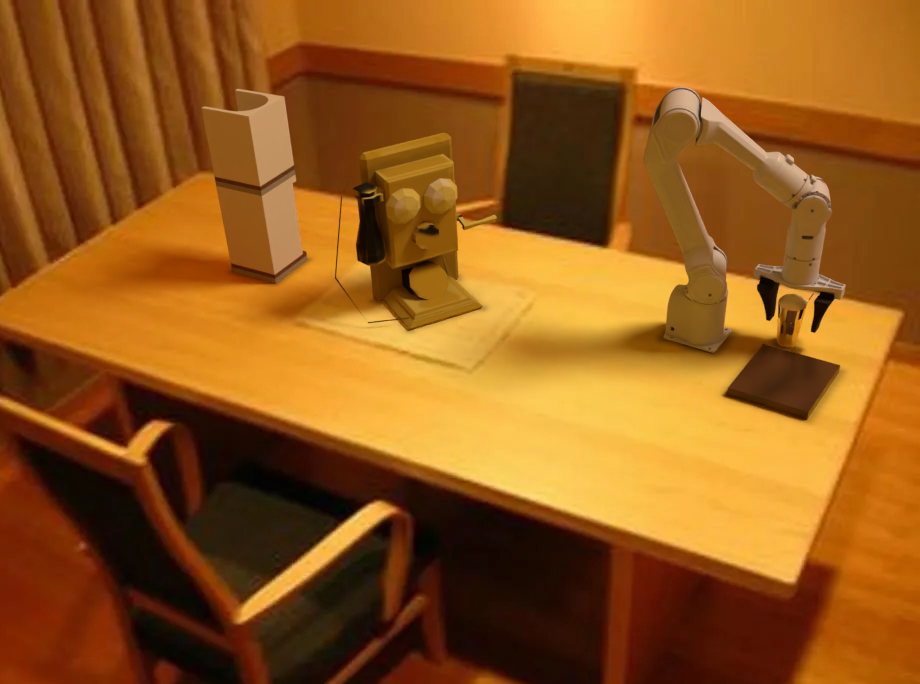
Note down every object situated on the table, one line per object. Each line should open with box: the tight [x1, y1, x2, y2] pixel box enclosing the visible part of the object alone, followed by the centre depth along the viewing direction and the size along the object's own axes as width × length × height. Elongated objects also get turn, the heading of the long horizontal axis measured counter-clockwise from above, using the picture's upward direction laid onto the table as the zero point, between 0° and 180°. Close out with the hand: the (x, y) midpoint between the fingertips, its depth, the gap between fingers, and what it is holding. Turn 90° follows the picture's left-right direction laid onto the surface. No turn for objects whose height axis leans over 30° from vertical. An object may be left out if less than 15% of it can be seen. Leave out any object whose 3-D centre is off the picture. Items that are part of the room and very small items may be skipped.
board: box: [727, 343, 841, 420], centre depth 175 cm, size 13×15×2 cm
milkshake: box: [776, 292, 815, 349], centre depth 182 cm, size 5×5×10 cm
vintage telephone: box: [334, 132, 498, 331], centre depth 196 cm, size 31×14×30 cm, turn 114°
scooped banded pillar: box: [201, 88, 308, 285], centre depth 212 cm, size 11×11×35 cm
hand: (792, 323), depth 183 cm, fingers open, 7 cm apart
